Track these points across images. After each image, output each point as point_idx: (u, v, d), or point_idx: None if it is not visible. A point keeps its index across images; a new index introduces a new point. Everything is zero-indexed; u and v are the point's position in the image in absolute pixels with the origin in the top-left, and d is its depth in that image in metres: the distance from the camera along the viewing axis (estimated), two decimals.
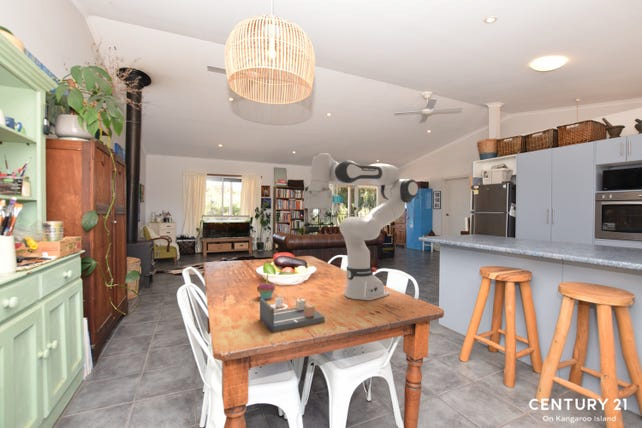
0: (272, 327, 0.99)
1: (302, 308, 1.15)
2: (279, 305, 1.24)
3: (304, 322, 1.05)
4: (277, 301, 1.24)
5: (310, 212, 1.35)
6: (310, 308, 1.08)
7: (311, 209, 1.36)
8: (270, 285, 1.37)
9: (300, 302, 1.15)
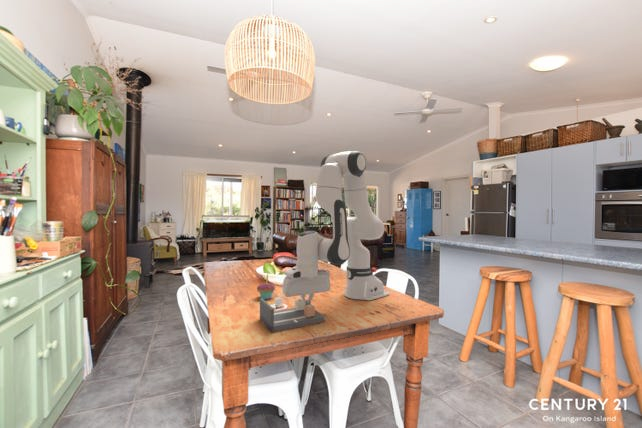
0: (272, 327, 0.99)
1: (301, 308, 1.15)
2: (278, 305, 1.25)
3: (304, 322, 1.05)
4: (276, 301, 1.24)
5: None
6: (310, 308, 1.08)
7: None
8: (270, 285, 1.37)
9: (299, 302, 1.14)
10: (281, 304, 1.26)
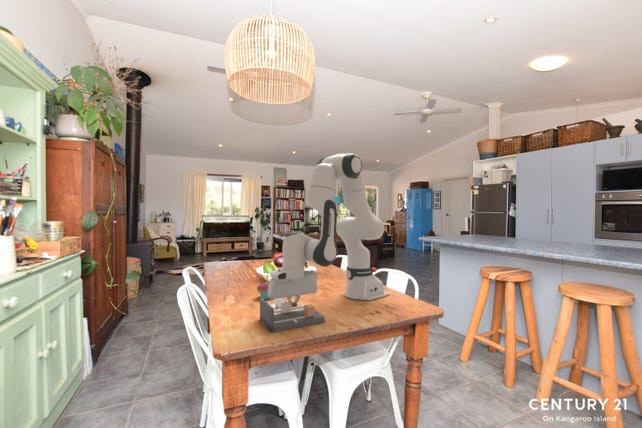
0: (272, 327, 0.99)
1: (287, 311, 1.12)
2: (278, 305, 1.25)
3: (304, 322, 1.05)
4: (276, 301, 1.24)
5: (290, 300, 1.14)
6: (310, 308, 1.08)
7: None
8: None
9: (285, 304, 1.12)
10: None
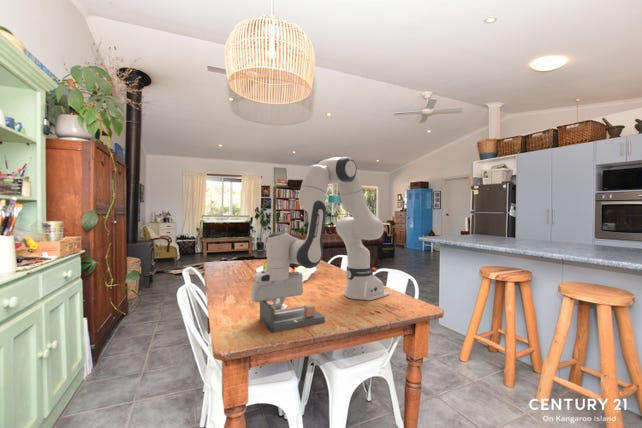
0: (272, 327, 0.99)
1: None
2: None
3: (304, 322, 1.05)
4: (276, 301, 1.24)
5: (275, 302, 1.11)
6: (310, 308, 1.08)
7: None
8: None
9: None
10: None
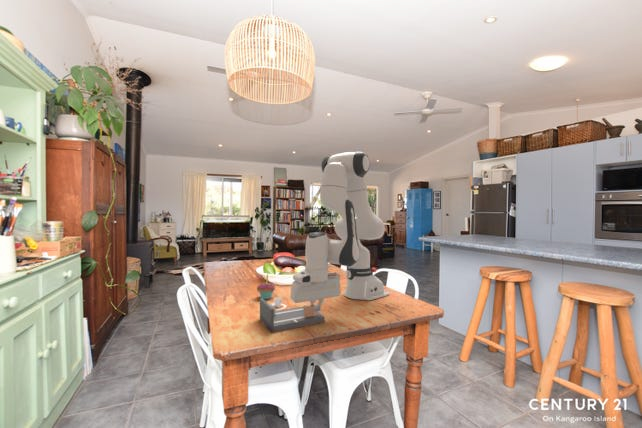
0: (272, 327, 0.99)
1: None
2: (278, 305, 1.25)
3: (304, 322, 1.05)
4: (276, 301, 1.24)
5: None
6: (309, 308, 1.08)
7: None
8: (270, 285, 1.37)
9: None
10: (280, 304, 1.27)
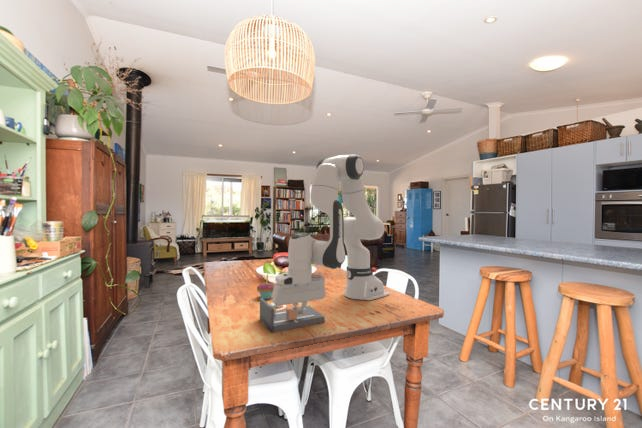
0: (272, 327, 0.99)
1: None
2: None
3: (304, 322, 1.05)
4: None
5: (296, 307, 1.06)
6: (292, 311, 1.04)
7: None
8: (270, 285, 1.37)
9: None
10: None
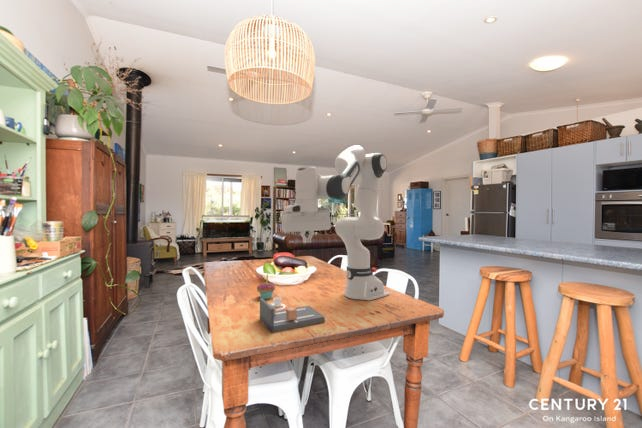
0: (272, 327, 0.99)
1: None
2: (277, 305, 1.25)
3: (304, 322, 1.05)
4: (275, 301, 1.24)
5: None
6: (292, 311, 1.04)
7: None
8: (270, 285, 1.37)
9: None
10: (280, 304, 1.27)
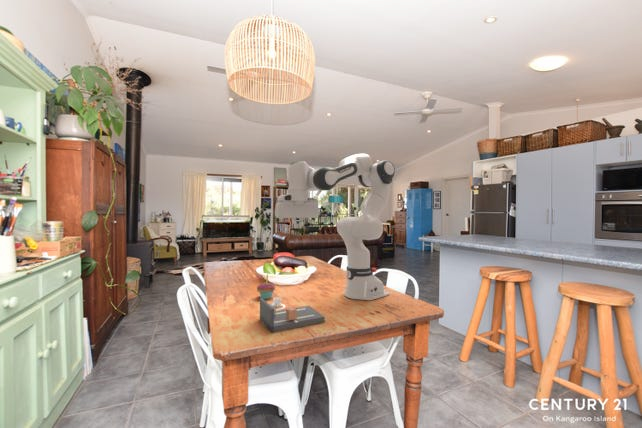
0: (272, 327, 0.99)
1: None
2: (277, 305, 1.25)
3: (304, 322, 1.05)
4: (275, 301, 1.24)
5: None
6: (292, 311, 1.04)
7: None
8: (270, 285, 1.37)
9: None
10: (279, 304, 1.27)
